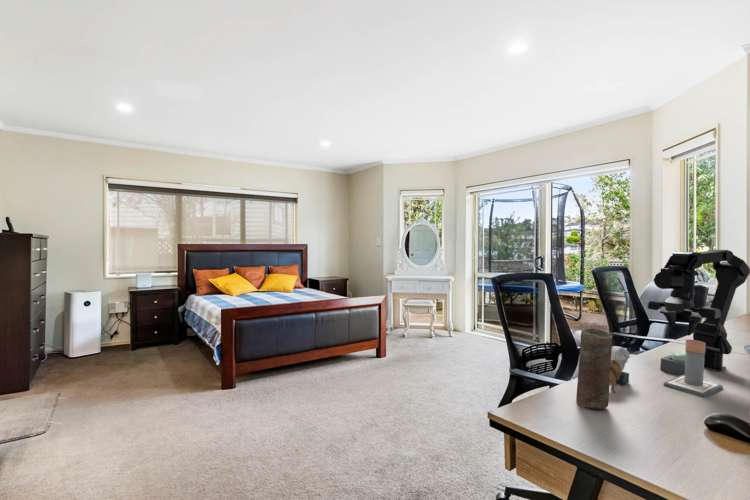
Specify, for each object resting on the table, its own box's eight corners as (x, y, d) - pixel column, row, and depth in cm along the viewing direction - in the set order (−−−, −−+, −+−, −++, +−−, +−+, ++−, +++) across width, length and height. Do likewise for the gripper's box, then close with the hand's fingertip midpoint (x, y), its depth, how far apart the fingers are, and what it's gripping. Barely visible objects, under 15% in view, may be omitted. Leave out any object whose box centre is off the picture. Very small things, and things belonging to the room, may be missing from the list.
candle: (605, 402, 102) (608, 329, 102) (612, 414, 95) (616, 336, 95) (573, 398, 105) (576, 326, 104) (578, 409, 98) (582, 332, 97)
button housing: (670, 366, 135) (670, 355, 134) (698, 373, 128) (698, 361, 128) (660, 369, 130) (660, 358, 130) (688, 377, 124) (689, 365, 123)
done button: (674, 360, 132) (674, 352, 132) (690, 364, 128) (690, 355, 128) (669, 362, 130) (669, 353, 130) (684, 366, 126) (685, 357, 126)
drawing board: (682, 377, 123) (682, 374, 123) (722, 388, 115) (722, 384, 115) (663, 385, 116) (663, 381, 116) (705, 397, 107) (705, 393, 107)
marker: (686, 379, 119) (688, 338, 118) (705, 384, 115) (707, 342, 115) (681, 382, 116) (683, 340, 115) (701, 387, 112) (703, 344, 112)
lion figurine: (607, 384, 116) (608, 355, 115) (625, 391, 111) (626, 360, 110) (575, 392, 109) (576, 361, 109) (593, 399, 104) (594, 367, 104)
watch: (631, 381, 118) (632, 347, 118) (620, 387, 114) (622, 351, 113) (611, 376, 123) (612, 342, 123) (600, 381, 118) (602, 346, 118)
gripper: (641, 286, 132) (639, 330, 132) (709, 293, 116) (706, 343, 116) (655, 284, 138) (653, 327, 138) (722, 291, 122) (719, 339, 122)
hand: (680, 333), depth 129 cm, fingers open, 4 cm apart
